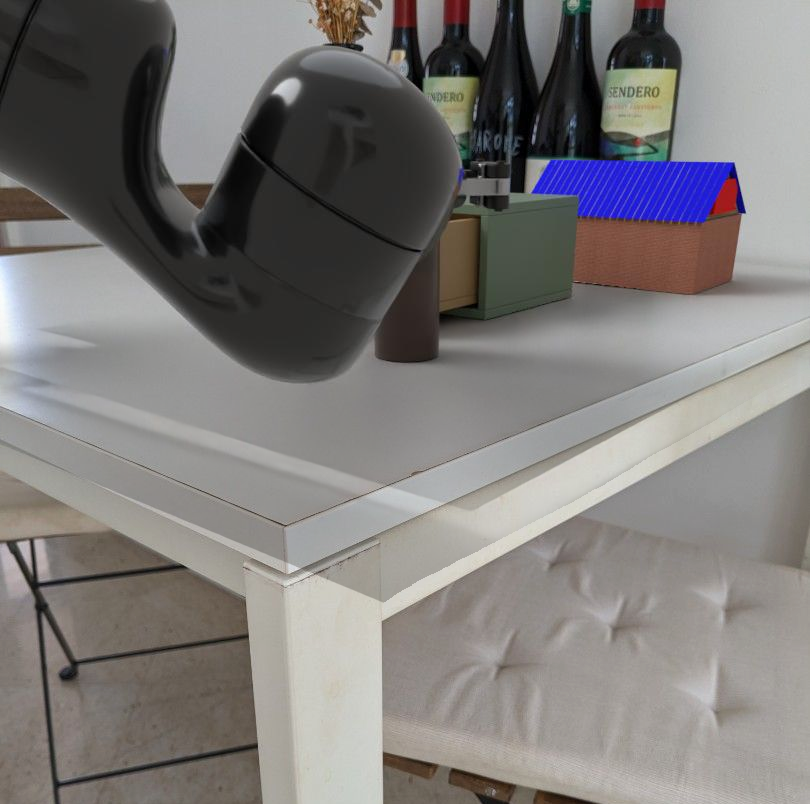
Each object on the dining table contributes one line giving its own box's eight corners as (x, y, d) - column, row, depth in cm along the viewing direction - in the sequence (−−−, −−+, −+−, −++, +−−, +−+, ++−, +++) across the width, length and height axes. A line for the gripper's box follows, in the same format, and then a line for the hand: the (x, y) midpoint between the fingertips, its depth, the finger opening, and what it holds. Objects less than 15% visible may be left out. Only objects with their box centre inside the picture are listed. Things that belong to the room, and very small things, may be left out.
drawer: (372, 335, 63) (370, 230, 60) (267, 317, 69) (260, 221, 66) (510, 300, 76) (514, 212, 73) (410, 288, 82) (410, 206, 79)
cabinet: (485, 320, 72) (489, 205, 68) (373, 303, 80) (371, 199, 76) (571, 296, 83) (579, 195, 79) (465, 284, 90) (468, 190, 86)
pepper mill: (361, 355, 61) (355, 139, 55) (402, 344, 64) (401, 138, 58) (411, 365, 58) (410, 138, 52) (451, 353, 62) (455, 138, 56)
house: (568, 264, 103) (576, 158, 98) (735, 279, 92) (754, 160, 86) (516, 277, 94) (522, 161, 89) (694, 295, 83) (712, 164, 78)
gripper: (247, 269, 46) (310, 235, 61) (516, 272, 44) (512, 236, 60) (234, 113, 43) (304, 118, 58) (524, 111, 41) (517, 117, 57)
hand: (410, 178), depth 59 cm, fingers closed on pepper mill, 4 cm apart
